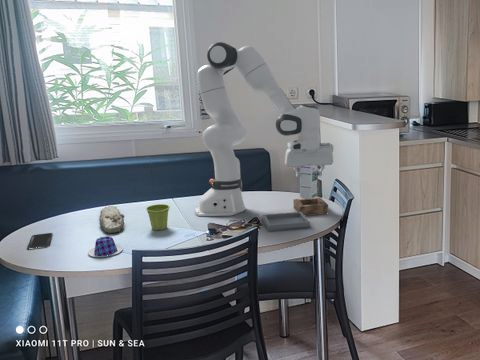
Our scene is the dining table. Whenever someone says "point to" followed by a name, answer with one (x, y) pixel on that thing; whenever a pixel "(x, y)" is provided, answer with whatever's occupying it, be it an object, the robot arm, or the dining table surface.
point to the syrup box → (308, 181)
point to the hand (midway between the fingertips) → (308, 175)
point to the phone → (40, 240)
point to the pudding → (105, 247)
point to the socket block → (311, 206)
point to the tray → (286, 221)
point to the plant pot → (158, 216)
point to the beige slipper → (111, 219)
